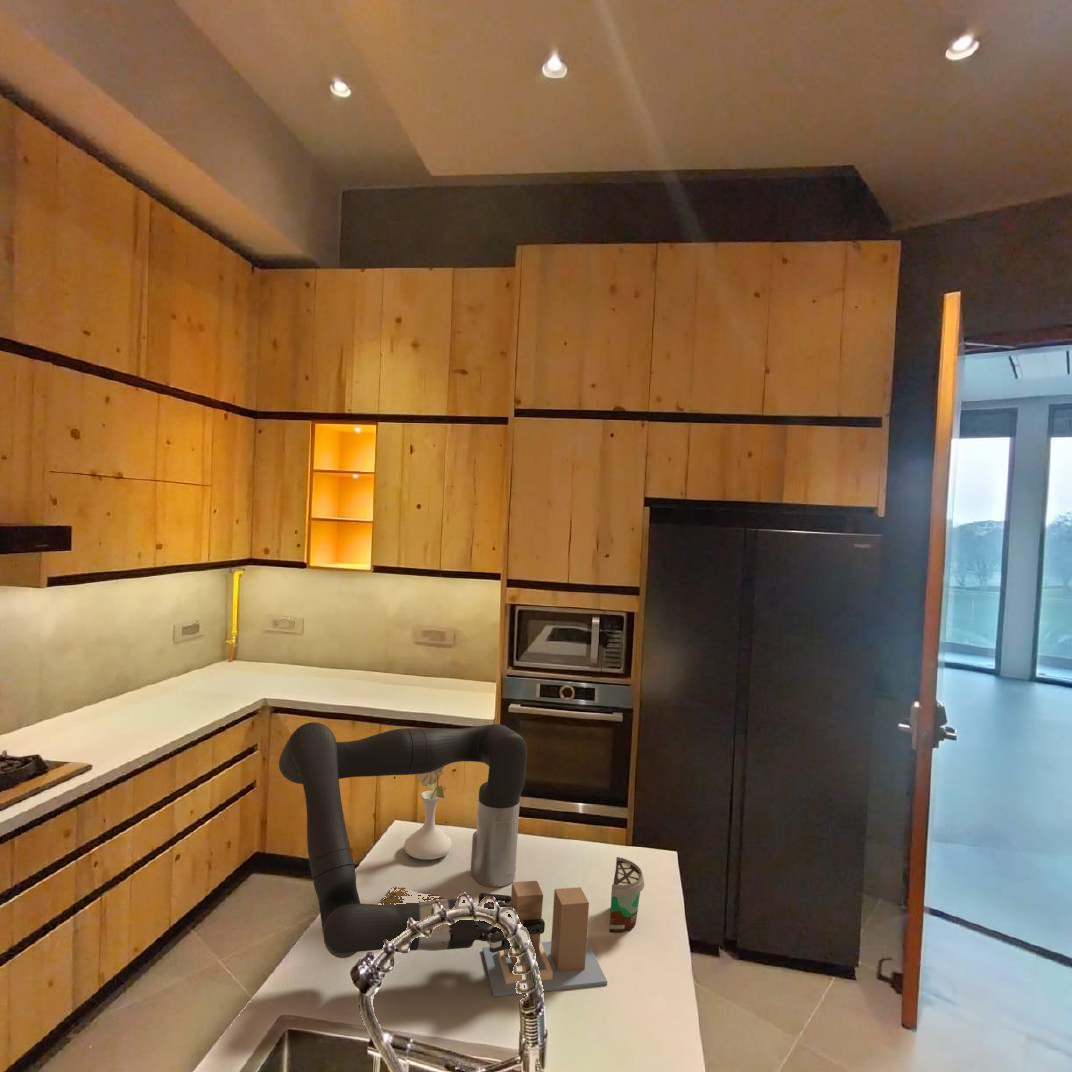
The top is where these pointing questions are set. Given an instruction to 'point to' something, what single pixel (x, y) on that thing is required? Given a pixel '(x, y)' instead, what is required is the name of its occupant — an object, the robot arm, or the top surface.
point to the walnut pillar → (527, 907)
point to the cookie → (393, 899)
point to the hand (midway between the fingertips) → (540, 917)
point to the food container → (625, 896)
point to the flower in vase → (429, 823)
